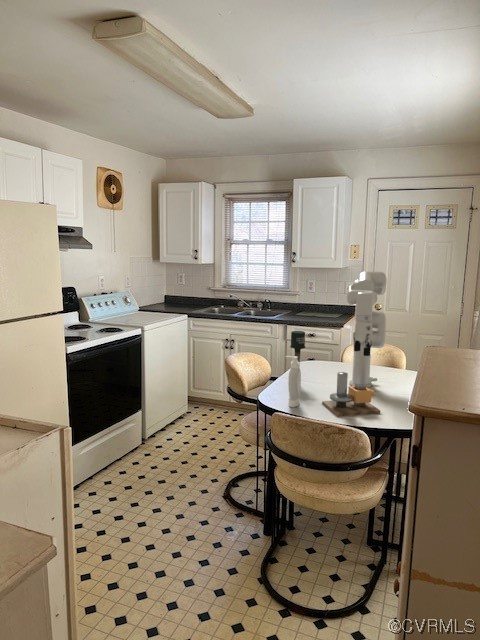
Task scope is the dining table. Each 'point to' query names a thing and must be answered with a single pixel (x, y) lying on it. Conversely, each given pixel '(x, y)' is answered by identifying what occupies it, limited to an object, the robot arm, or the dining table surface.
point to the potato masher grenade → (298, 342)
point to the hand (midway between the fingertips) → (361, 353)
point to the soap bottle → (294, 382)
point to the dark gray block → (360, 387)
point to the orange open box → (361, 394)
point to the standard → (341, 391)
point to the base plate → (350, 409)
